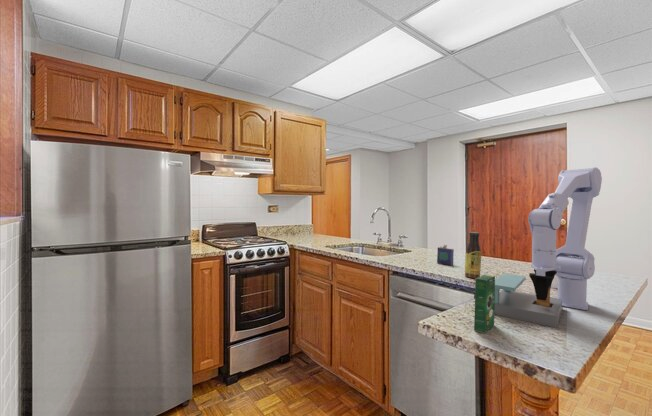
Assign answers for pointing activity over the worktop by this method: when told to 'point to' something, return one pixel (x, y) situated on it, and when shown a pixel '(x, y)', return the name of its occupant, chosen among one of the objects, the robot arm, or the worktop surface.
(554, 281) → the white cube
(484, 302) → the coffee box
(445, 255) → the flask
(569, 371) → the worktop surface
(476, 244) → the sauce bottle
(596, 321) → the worktop surface
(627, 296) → the worktop surface
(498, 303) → the socket stand
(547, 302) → the peg
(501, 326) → the worktop surface
